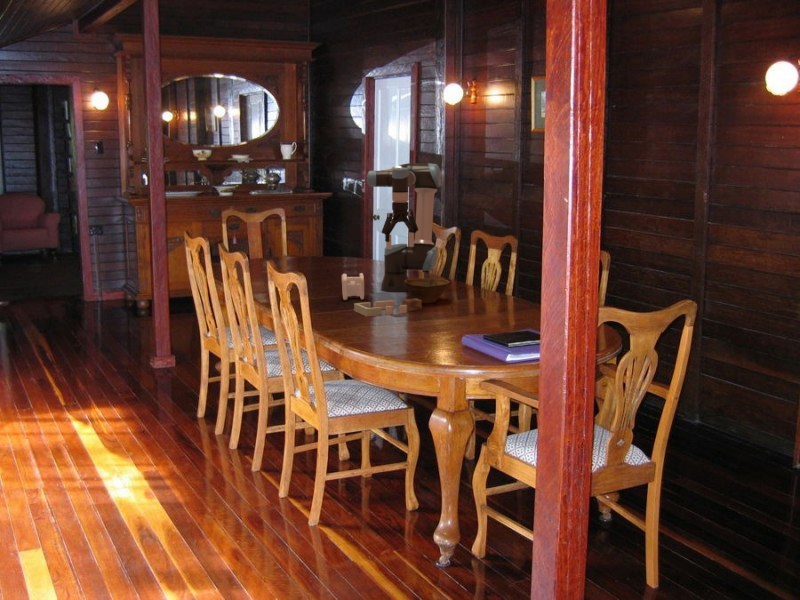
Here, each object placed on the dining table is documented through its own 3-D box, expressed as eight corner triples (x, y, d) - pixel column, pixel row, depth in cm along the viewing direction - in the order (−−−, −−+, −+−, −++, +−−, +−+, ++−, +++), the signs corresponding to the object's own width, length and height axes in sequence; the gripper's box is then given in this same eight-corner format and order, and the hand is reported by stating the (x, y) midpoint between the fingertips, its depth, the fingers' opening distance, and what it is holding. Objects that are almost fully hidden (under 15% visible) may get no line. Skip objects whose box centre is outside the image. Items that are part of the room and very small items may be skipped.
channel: (393, 307, 427) (393, 300, 427) (406, 312, 415) (406, 305, 414) (373, 309, 423) (373, 301, 422) (386, 314, 411) (386, 307, 410)
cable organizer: (364, 301, 442) (364, 277, 440) (342, 301, 441) (342, 277, 439) (363, 295, 457) (363, 272, 455) (341, 295, 456) (341, 272, 454)
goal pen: (369, 309, 422) (369, 302, 421) (382, 315, 410) (382, 307, 409) (354, 311, 419) (354, 303, 418) (366, 316, 407) (366, 309, 406)
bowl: (456, 299, 447) (457, 279, 446) (438, 307, 427) (438, 286, 425) (415, 295, 456) (415, 275, 455) (395, 303, 436) (395, 282, 434)
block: (416, 307, 428) (416, 298, 427) (421, 310, 422) (421, 300, 422) (402, 308, 425) (402, 299, 424) (407, 311, 420) (407, 301, 419)
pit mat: (404, 314, 414) (404, 313, 414) (409, 316, 409) (409, 315, 409) (390, 316, 411) (390, 314, 411) (395, 318, 406) (395, 317, 406)
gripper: (415, 199, 433) (415, 244, 437) (373, 202, 417) (373, 249, 421) (426, 200, 428) (425, 246, 431) (384, 203, 412) (384, 250, 415)
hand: (400, 247), depth 426 cm, fingers open, 13 cm apart
